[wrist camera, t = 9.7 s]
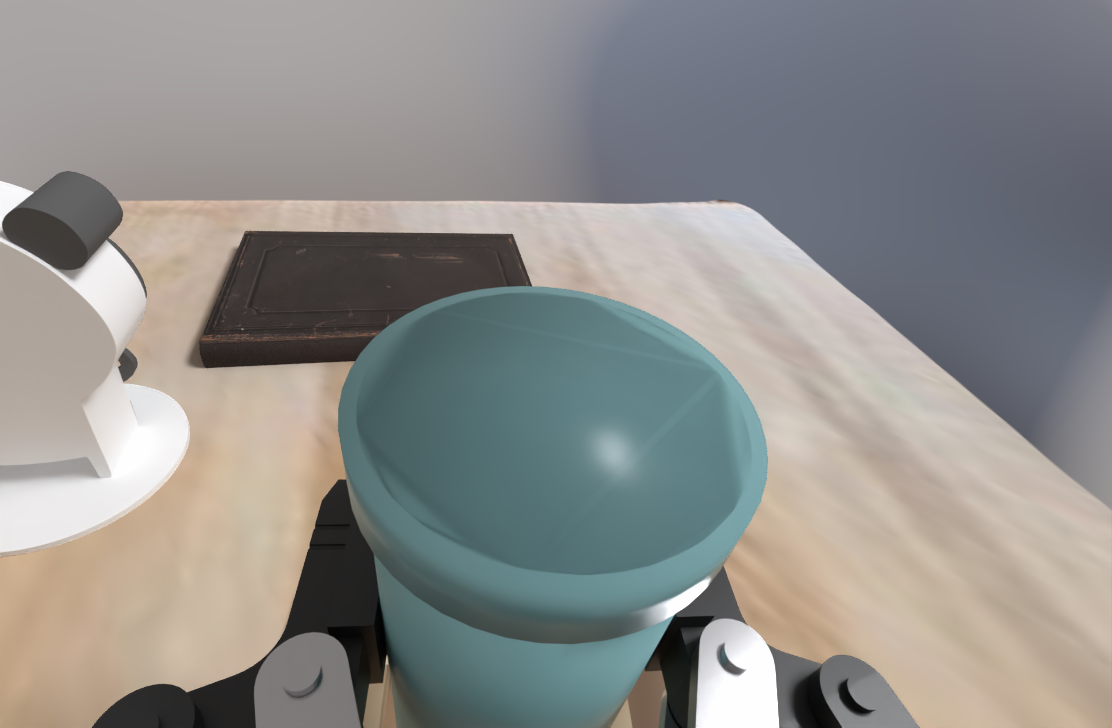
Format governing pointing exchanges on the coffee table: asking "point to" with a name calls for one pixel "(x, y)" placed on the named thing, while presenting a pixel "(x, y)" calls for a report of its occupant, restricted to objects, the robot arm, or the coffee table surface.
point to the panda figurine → (73, 371)
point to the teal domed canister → (540, 499)
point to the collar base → (632, 724)
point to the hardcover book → (342, 290)
